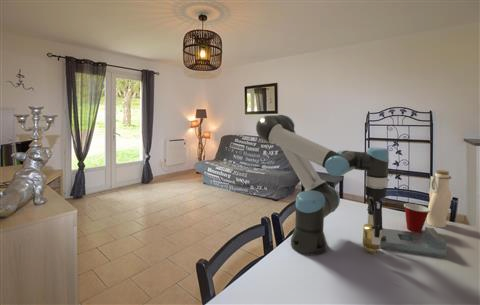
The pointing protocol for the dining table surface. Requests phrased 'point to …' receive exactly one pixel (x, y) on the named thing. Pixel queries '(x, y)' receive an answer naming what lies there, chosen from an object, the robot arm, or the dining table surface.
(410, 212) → the plastic cup
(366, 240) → the golden knob
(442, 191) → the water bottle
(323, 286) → the dining table surface
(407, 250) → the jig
